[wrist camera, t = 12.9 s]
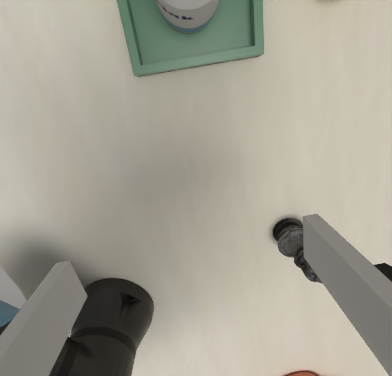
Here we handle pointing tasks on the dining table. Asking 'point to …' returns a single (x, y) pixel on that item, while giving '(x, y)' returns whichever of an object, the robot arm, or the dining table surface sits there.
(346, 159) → the dining table surface
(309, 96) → the dining table surface
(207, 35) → the tray
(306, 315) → the dining table surface
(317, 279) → the salt shaker
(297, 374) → the teapot
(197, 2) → the beverage can
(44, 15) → the dining table surface
